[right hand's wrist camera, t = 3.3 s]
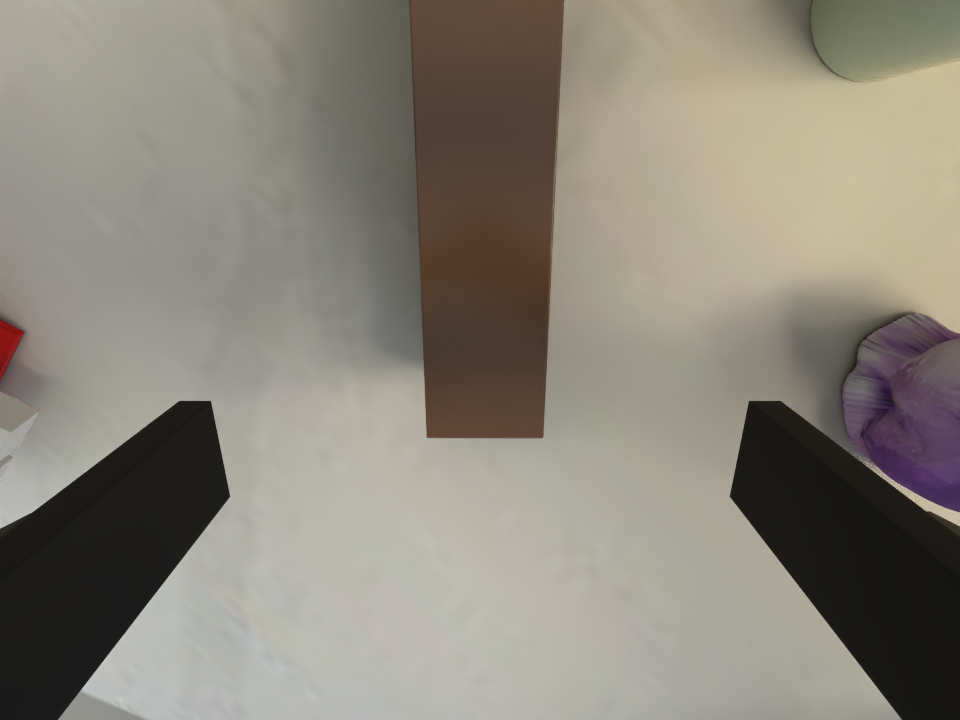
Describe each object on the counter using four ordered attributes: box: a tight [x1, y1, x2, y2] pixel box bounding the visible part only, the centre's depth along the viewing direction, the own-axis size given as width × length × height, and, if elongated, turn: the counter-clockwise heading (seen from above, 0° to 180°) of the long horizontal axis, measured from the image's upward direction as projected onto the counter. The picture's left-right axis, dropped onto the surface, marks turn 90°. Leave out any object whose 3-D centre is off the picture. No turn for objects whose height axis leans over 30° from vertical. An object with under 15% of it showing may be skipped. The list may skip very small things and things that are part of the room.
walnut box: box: [409, 0, 564, 438], centre depth 21 cm, size 24×5×8 cm, turn 0°
